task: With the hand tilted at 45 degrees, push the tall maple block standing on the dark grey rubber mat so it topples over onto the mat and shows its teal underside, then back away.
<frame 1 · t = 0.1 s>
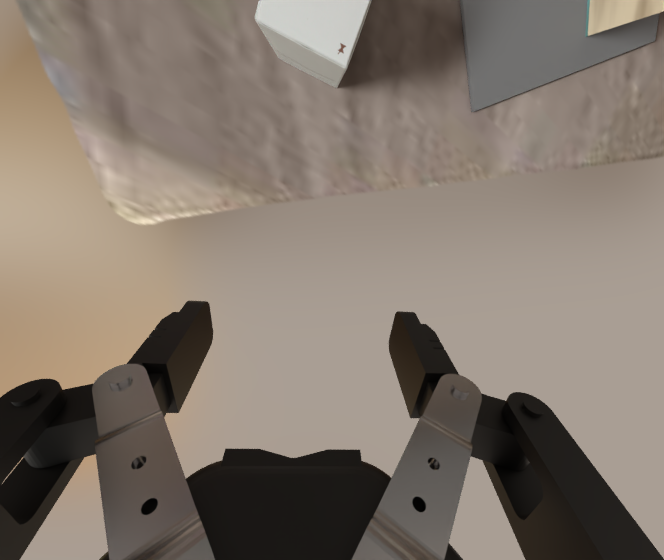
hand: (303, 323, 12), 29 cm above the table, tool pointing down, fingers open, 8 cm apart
mat: (558, 19, 31), on the table
supplement box: (319, 36, 31), on the table
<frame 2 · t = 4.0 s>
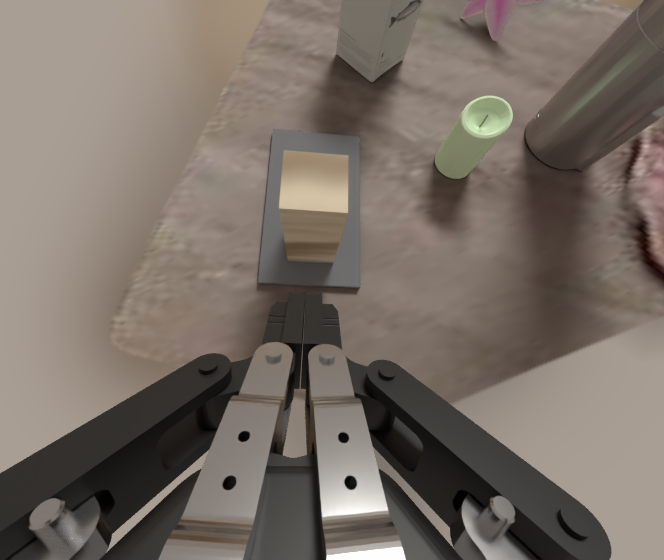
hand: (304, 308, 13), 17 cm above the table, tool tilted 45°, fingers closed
mat: (313, 205, 34), on the table
lily: (483, 18, 47), on the table
block: (311, 241, 32), point 1 cm above the table, touching mat
candle: (451, 164, 38), on the table
supplement box: (370, 58, 42), on the table
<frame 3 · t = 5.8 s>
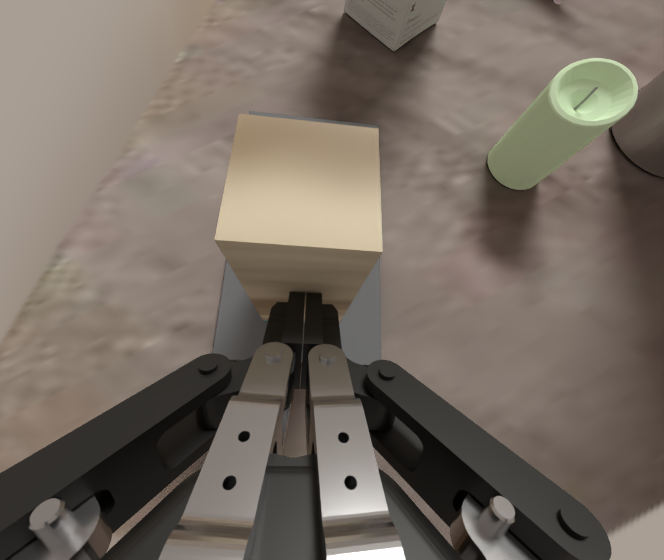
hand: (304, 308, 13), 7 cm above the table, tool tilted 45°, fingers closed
mat: (307, 227, 22), on the table
block: (303, 287, 20), point 1 cm above the table, touching mat
candle: (511, 168, 26), on the table
supplement box: (391, 20, 30), on the table
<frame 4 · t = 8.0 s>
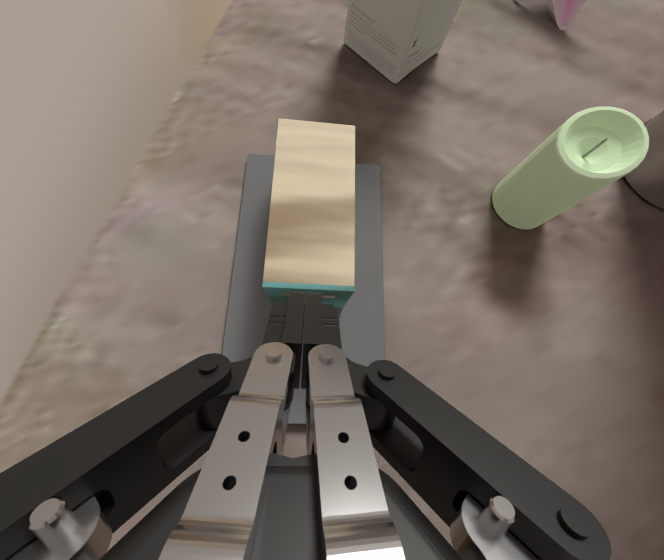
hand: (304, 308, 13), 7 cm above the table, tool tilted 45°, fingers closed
mat: (309, 276, 22), on the table
lily: (543, 0, 34), on the table
block: (308, 298, 18), point 3 cm above the table, tilted 90°, touching mat
candle: (516, 205, 25), on the table
supplement box: (391, 50, 29), on the table
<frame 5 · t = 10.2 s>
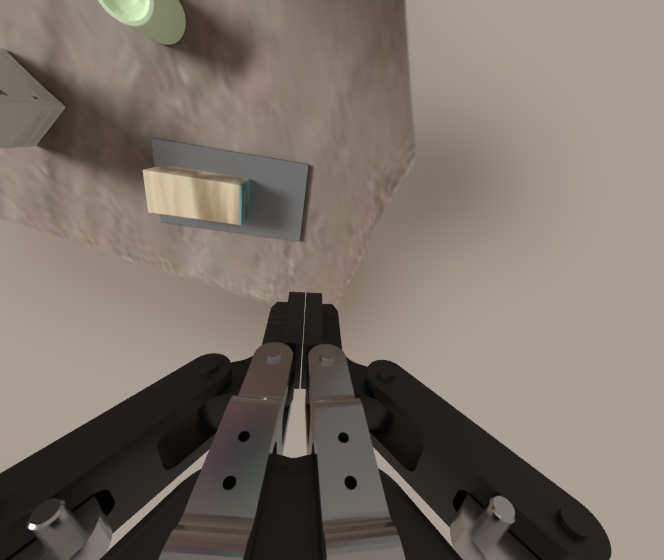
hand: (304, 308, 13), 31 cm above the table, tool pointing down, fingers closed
mat: (233, 193, 40), on the table
block: (245, 201, 38), point 3 cm above the table, tilted 90°, touching mat
candle: (163, 16, 32), on the table
supplement box: (23, 100, 35), on the table
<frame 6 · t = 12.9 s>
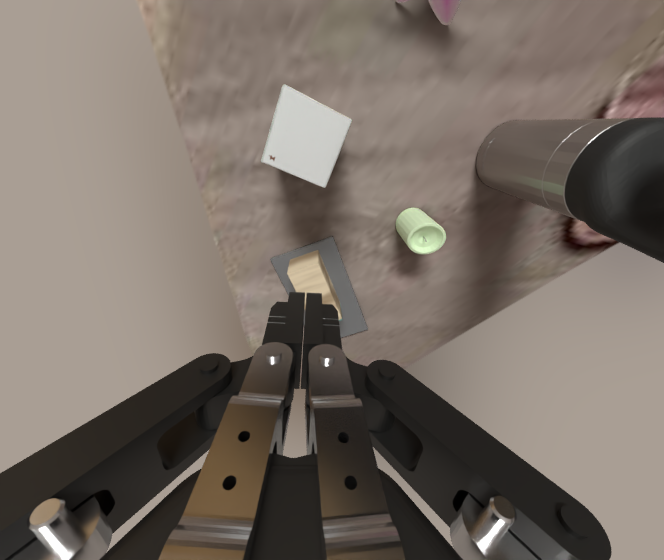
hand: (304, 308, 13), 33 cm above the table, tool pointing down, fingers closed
mat: (322, 295, 52), on the table
block: (328, 315, 50), point 3 cm above the table, tilted 90°, touching mat
candle: (410, 222, 46), on the table
supplement box: (308, 136, 40), on the table
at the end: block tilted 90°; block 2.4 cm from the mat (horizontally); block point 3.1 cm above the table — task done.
